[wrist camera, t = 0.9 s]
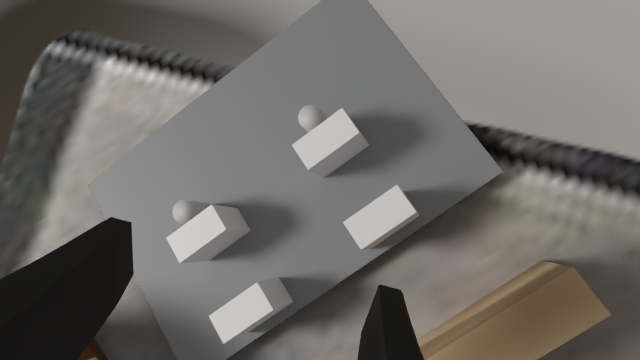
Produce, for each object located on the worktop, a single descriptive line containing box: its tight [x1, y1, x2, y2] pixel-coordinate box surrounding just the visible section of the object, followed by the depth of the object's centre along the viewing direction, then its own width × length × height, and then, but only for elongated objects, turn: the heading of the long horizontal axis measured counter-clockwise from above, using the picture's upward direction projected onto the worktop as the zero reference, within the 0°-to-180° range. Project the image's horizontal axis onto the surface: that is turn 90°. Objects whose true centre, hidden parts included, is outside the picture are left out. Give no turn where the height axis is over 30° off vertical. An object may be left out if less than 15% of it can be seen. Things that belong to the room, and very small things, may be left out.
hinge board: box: [87, 0, 503, 360], centre depth 25 cm, size 14×20×4 cm
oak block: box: [417, 261, 611, 360], centre depth 20 cm, size 2×10×6 cm, turn 124°
